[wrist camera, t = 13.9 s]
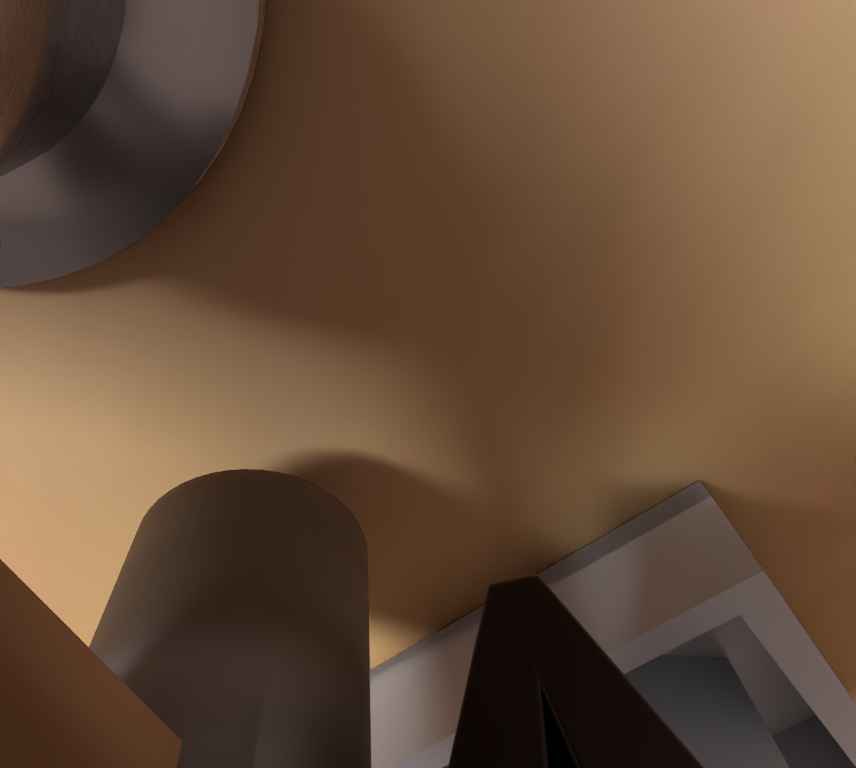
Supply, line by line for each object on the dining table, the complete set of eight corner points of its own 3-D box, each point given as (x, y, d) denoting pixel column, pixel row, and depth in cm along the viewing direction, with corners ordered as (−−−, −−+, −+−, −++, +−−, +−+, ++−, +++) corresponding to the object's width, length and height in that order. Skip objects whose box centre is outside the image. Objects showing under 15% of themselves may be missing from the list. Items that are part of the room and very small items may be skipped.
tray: (699, 480, 14) (764, 570, 11) (848, 695, 18) (913, 788, 16) (330, 693, 16) (326, 800, 14) (543, 835, 21) (565, 933, 18)
